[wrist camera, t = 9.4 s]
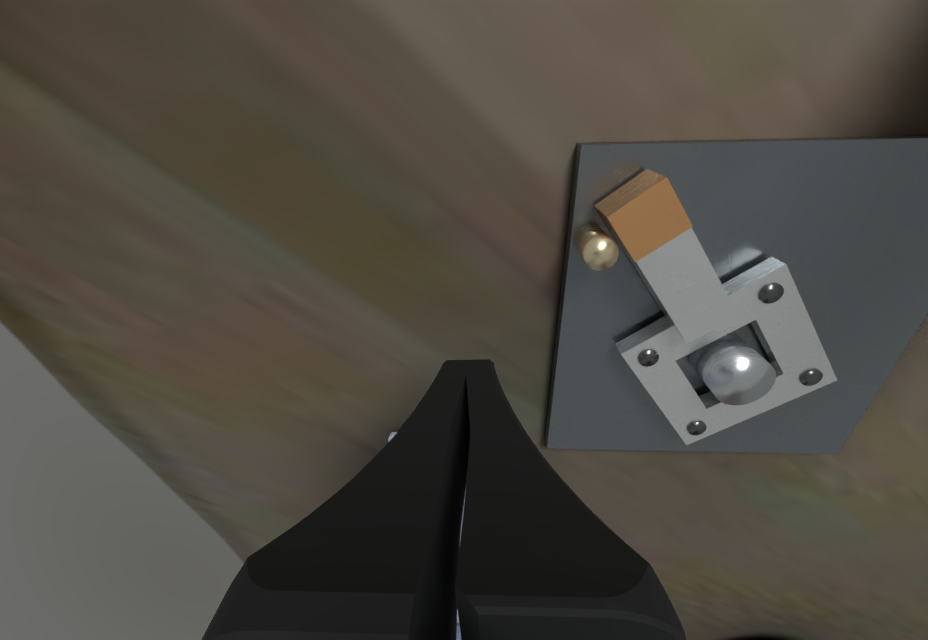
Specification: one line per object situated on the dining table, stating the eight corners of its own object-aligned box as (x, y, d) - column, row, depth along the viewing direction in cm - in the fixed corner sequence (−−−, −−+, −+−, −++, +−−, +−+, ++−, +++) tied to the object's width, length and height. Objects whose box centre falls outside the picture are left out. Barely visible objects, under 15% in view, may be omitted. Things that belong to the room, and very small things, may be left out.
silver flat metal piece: (822, 368, 21) (854, 393, 19) (678, 432, 24) (695, 459, 22) (710, 123, 16) (741, 126, 14) (542, 242, 18) (548, 257, 16)
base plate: (826, 442, 25) (875, 490, 22) (545, 437, 26) (553, 482, 23) (1009, 134, 16) (1133, 141, 13) (576, 142, 17) (596, 151, 14)
